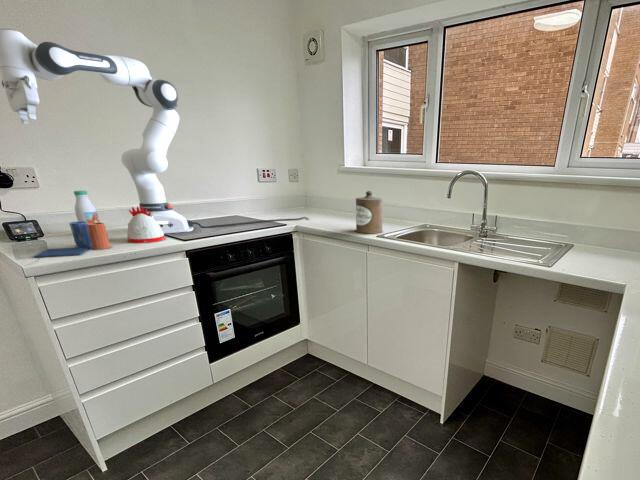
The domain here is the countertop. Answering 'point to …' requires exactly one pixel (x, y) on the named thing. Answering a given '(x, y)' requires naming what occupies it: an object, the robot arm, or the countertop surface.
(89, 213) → the milk bottle
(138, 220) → the white crested dome
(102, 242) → the terracotta cup
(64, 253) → the blue mat
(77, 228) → the blue cup
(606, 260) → the countertop surface
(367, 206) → the wooden container
